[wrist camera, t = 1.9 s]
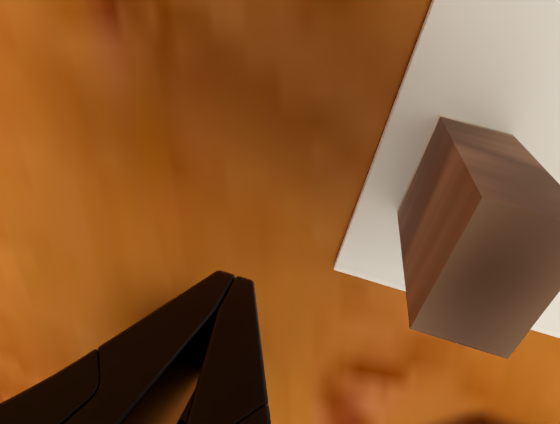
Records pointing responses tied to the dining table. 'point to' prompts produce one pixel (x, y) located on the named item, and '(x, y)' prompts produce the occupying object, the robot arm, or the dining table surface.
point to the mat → (461, 115)
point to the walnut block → (479, 238)
